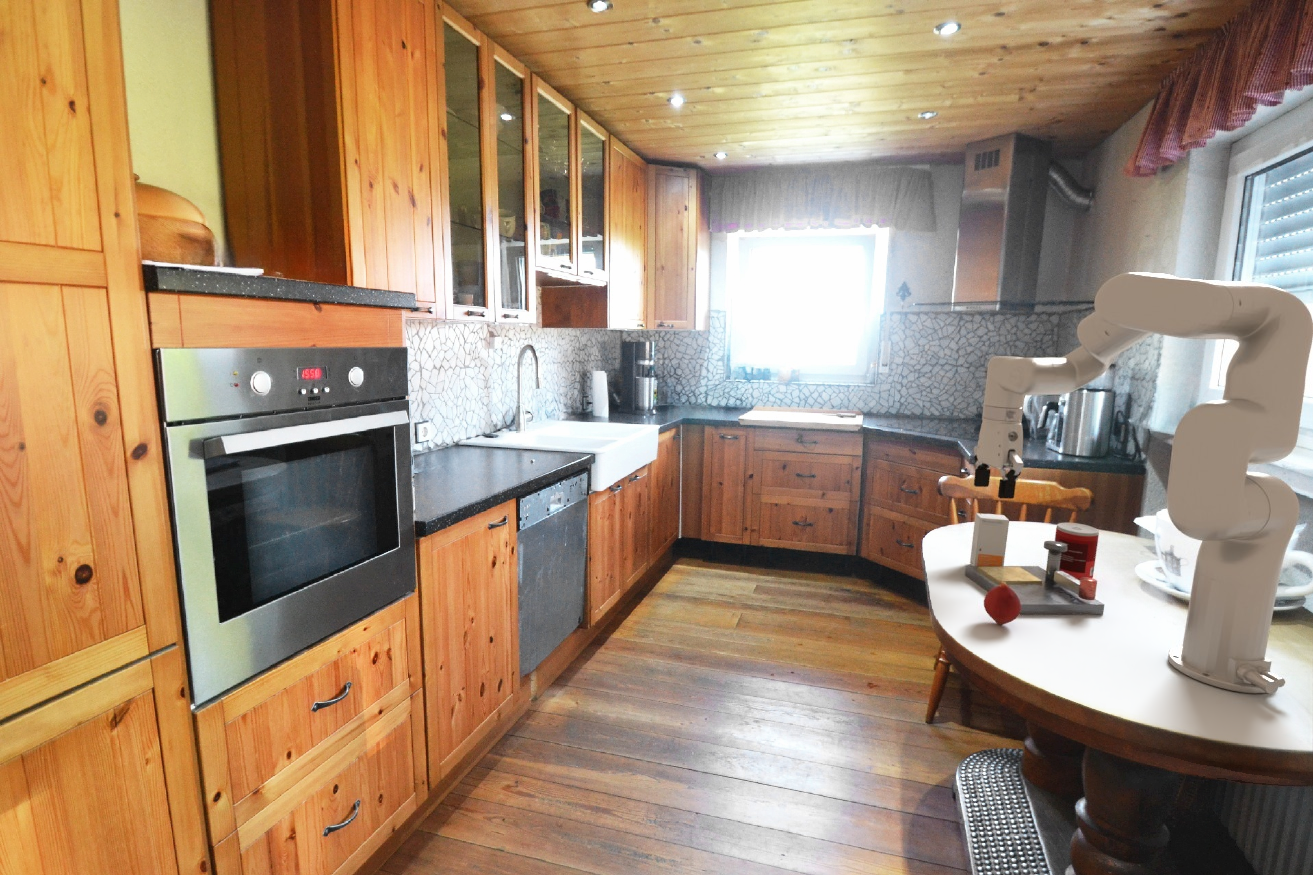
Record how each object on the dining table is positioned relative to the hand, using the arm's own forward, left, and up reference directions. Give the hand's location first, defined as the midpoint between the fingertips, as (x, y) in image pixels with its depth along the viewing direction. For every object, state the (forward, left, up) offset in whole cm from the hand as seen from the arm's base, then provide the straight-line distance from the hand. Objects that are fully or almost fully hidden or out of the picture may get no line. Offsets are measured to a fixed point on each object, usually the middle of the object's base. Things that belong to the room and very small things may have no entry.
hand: (993, 492), depth 143 cm
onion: (-28, +13, -18) cm, 36 cm away
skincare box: (0, 0, -18) cm, 18 cm away
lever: (-20, -6, -14) cm, 25 cm away
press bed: (-14, -1, -17) cm, 23 cm away
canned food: (-5, -16, -18) cm, 24 cm away
